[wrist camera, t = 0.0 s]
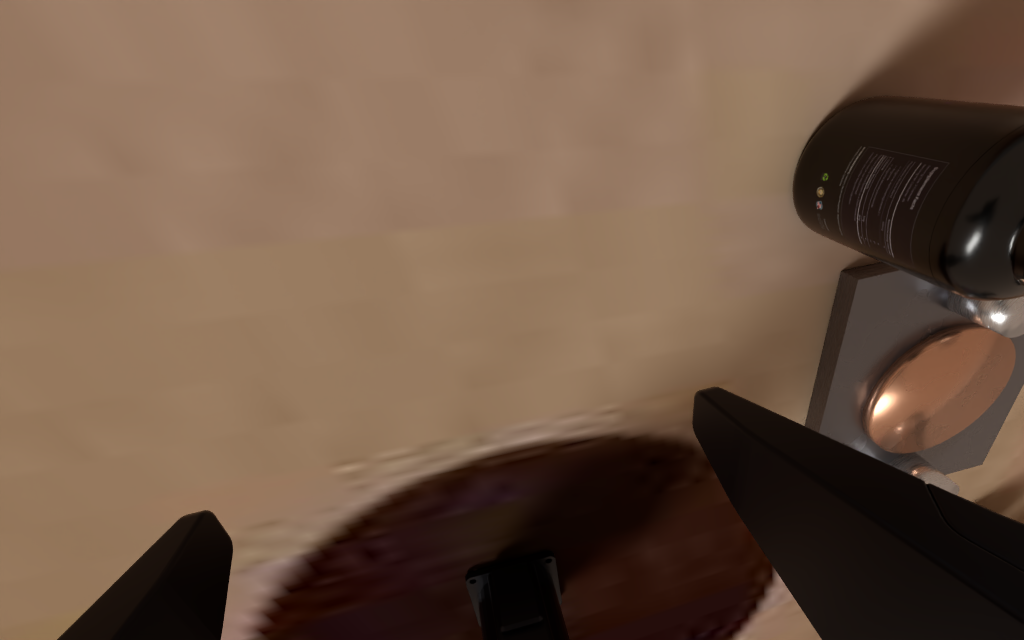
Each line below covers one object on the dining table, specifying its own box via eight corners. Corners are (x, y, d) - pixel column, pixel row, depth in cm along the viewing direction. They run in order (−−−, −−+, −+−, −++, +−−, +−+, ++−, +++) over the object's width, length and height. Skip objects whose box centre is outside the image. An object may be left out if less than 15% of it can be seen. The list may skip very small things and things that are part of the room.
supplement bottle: (928, 80, 23) (1358, 104, 13) (892, 218, 26) (1206, 325, 16) (795, 107, 22) (1133, 156, 12) (777, 244, 26) (1026, 374, 15)
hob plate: (966, 453, 39) (1023, 494, 35) (786, 502, 37) (827, 550, 34) (1081, 217, 29) (1177, 240, 25) (841, 271, 27) (907, 304, 24)
